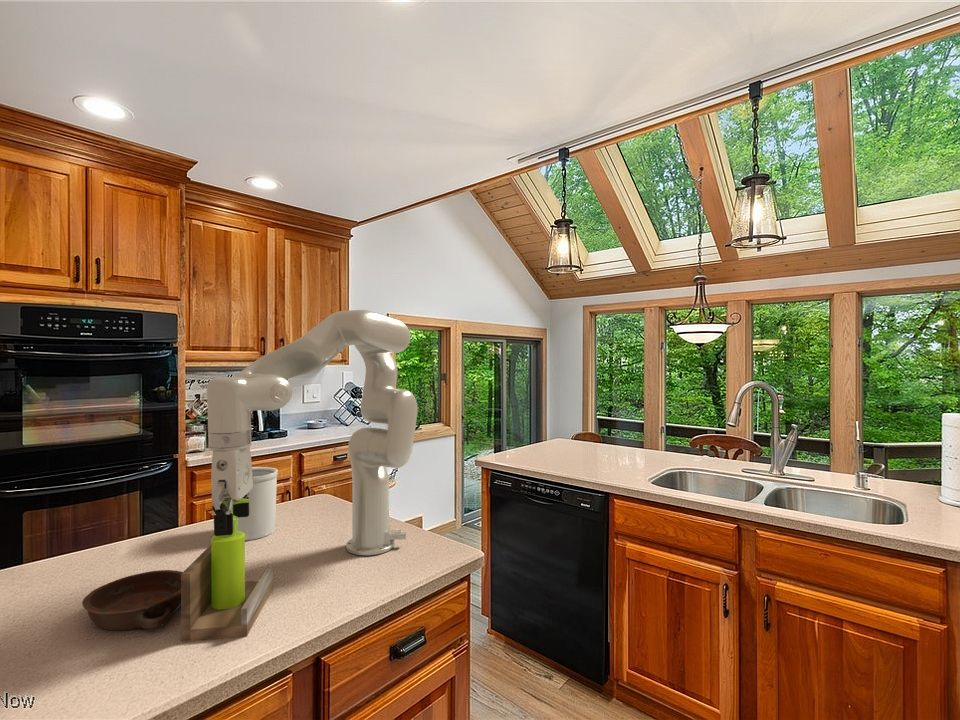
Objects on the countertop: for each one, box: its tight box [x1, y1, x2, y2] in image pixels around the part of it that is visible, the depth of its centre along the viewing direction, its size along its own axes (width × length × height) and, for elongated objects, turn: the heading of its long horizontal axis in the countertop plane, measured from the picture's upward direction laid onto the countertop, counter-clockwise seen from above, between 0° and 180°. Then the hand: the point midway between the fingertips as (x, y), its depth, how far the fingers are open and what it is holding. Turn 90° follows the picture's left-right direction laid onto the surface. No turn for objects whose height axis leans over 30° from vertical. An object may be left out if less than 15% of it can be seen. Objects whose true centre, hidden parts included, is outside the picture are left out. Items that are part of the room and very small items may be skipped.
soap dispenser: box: [210, 498, 251, 610], centre depth 97 cm, size 6×7×20 cm
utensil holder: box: [223, 466, 279, 542], centre depth 140 cm, size 15×15×18 cm
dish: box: [81, 569, 184, 631], centre depth 96 cm, size 18×22×5 cm
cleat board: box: [180, 544, 274, 642], centre depth 96 cm, size 11×18×12 cm, turn 9°
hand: (232, 525), depth 97 cm, fingers open, 9 cm apart
